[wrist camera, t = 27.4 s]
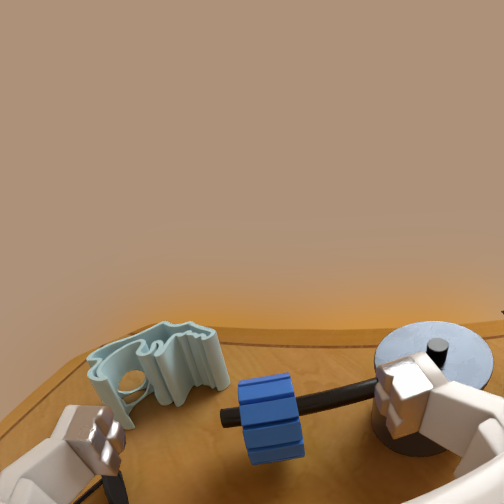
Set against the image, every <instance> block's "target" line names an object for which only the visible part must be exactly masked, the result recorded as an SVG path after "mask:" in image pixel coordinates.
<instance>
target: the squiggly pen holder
mask: <svg viewBox="0 0 504 504" xmlns="http://www.w3.org/2000/svg"><path fill="white" fill-rule="evenodd" d="M87 361H88V363H89V365H90V367H91V369H90V370H89V371H88V378H89V379H90V381H91V383H92V385H93V387H94V388H95V390H96V392H97V394H98V395H99V397H100V399H101V401H102V402H103V404H104V406H108V407H110V408H111V410H112V411H113V413H114V417H113V419H114V420H116V421H117V422H119V423H120V424H121V426H122V427H123V429H126V430H131V429H134V428H135V425H134V424H133V422H132V420H131V419H130V417H129V416H128V415H129V413H130V411H131V410H132V409H133V407H134V406H135V405H136V404H137V403H138V402H139V401H140V400H142V399H143V398H144V397H146V396H147V395H149V394H150V393H152V392H155V396H156V398H157V400H158V402H159V404H161V405H169V404H171V403H172V402H173V401H174V403H175V405H176V406H177V407H179V406H181V405H182V404H184V402H185V400H186V398H187V395H188V393H189V391H190V389H191V388H192V386H194V385H195V386H196V387H198V386H200V385H202V384H203V385H209V386H210V387H211V388H212V389H213V388H215V387H217V390H218V391H222V390H224V389H226V388H227V387H228V386H229V384H230V379H229V376H228V373H227V369H226V366H225V362H224V358H223V355H222V351H221V348H220V344H219V340H218V337H217V333H216V331H215V330H214V329H211V328H207V327H203V326H200V325H197V324H195V323H193V322H192V321H189V322H186V323H183V324H171V323H169V322H167V321H163V322H161V323H159V324H157V325H155V326H153V327H151V328H149V329H147V330H145V331H142V332H140V333H138V334H136V335H133V336H131V337H128V338H125V339H122V340H118V341H115V342H112V343H110V344H108V345H106V346H104V347H101V348H99V349H98V350H96V351H94V352H93V353H91V354H90V355H89V356H88V357H87ZM131 370H139V371H142V372H144V373H145V380H144V382H143V384H142V385H141V386H140V387H138V388H136V389H135V390H132V391H129V392H122V391H118V387H119V383H120V380H121V378H122V377H123V376H124V375H125V374H126V373H127V372H129V371H131ZM144 388H147V389H146V391H145V393H144V394H143V395H142V396H141V397H140V398H139V399H138V400H136V401H135V402H132V403H130V404H125V402H124V401H123V400H122V398H123V397H125V396H127V395H129V394H131V393H133V392H135V391H138V390H141V389H144Z"/></svg>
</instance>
